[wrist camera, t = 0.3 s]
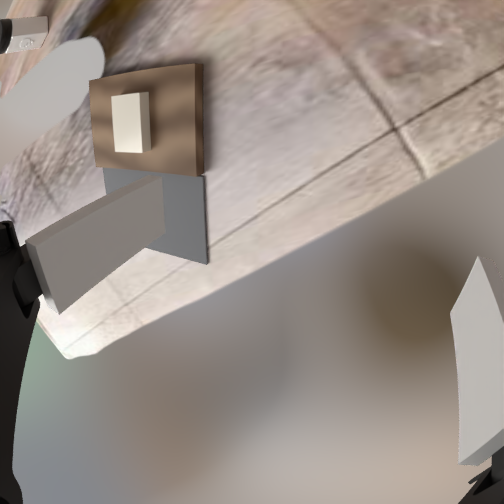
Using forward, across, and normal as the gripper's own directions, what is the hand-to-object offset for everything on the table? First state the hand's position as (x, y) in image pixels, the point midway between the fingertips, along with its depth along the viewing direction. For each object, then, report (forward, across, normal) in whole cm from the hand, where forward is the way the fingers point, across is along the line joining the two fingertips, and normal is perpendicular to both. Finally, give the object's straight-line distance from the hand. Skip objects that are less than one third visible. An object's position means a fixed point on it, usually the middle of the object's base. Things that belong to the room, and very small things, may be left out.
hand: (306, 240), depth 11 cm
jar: (+28, -66, +22) cm, 75 cm away
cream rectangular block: (+25, -32, -1) cm, 41 cm away
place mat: (+27, -31, -17) cm, 45 cm away
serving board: (+27, -32, -1) cm, 42 cm away
